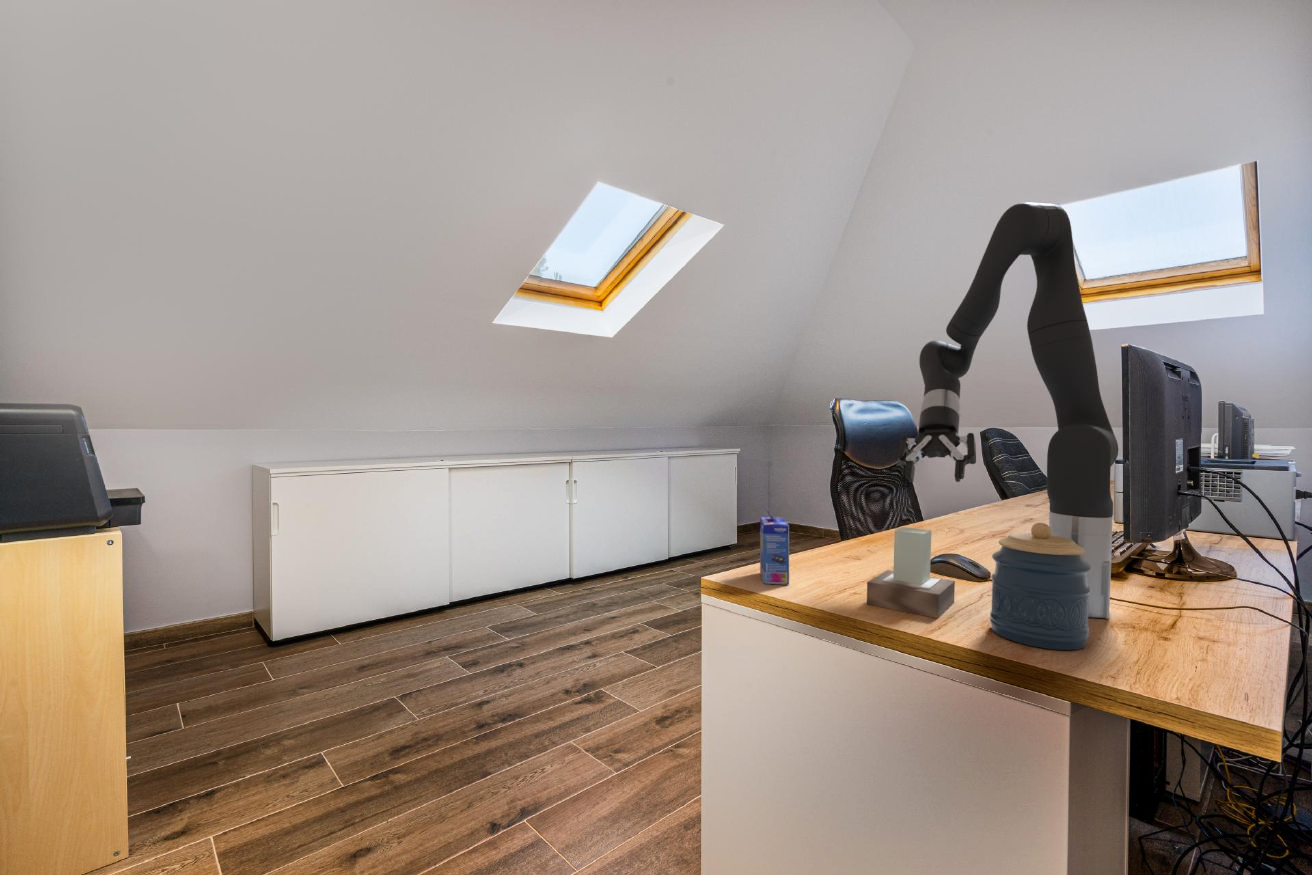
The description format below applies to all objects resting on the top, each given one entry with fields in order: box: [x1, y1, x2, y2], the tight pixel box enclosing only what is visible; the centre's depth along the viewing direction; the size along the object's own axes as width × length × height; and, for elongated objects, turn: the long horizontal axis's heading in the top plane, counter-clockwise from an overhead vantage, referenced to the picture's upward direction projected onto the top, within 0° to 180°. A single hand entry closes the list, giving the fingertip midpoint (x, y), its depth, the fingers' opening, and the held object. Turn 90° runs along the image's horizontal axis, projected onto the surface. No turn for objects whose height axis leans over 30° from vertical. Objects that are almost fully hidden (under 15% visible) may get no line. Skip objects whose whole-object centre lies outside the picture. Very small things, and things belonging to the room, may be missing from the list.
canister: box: [989, 522, 1092, 651], centre depth 93 cm, size 13×13×18 cm
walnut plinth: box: [866, 569, 956, 619], centre depth 109 cm, size 12×12×4 cm
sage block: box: [892, 526, 932, 585], centre depth 109 cm, size 5×5×9 cm
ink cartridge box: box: [759, 507, 790, 586], centre depth 125 cm, size 10×6×14 cm, turn 174°
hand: (933, 479), depth 118 cm, fingers open, 8 cm apart
